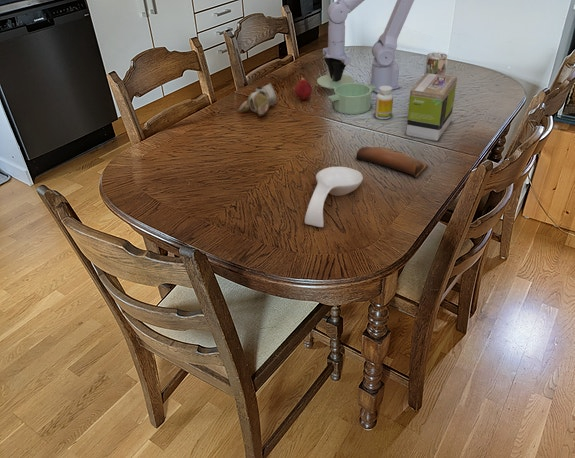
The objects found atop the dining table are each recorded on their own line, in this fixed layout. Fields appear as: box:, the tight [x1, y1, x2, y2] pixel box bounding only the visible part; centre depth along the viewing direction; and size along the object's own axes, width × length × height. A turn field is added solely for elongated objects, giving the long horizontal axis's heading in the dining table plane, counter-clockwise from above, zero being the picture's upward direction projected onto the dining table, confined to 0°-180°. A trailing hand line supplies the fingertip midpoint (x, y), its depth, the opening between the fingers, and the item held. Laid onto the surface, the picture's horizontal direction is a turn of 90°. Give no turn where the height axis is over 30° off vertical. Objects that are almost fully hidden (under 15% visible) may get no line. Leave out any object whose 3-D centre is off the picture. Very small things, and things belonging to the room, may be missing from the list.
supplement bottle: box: [374, 86, 394, 120], centre depth 160 cm, size 5×5×10 cm
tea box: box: [405, 73, 458, 142], centre depth 150 cm, size 15×10×15 cm
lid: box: [316, 70, 355, 90], centre depth 178 cm, size 13×13×5 cm
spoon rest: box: [304, 166, 364, 228], centre depth 122 cm, size 24×12×7 cm, turn 157°
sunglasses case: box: [356, 146, 427, 178], centre depth 137 cm, size 18×7×7 cm
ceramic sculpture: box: [235, 82, 277, 117], centre depth 167 cm, size 11×9×15 cm
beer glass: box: [423, 52, 448, 76], centre depth 167 cm, size 7×7×15 cm
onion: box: [294, 77, 313, 101], centre depth 173 cm, size 6×6×8 cm
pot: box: [327, 82, 376, 115], centre depth 168 cm, size 12×18×6 cm
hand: (335, 79), depth 179 cm, fingers closed on lid, 2 cm apart
